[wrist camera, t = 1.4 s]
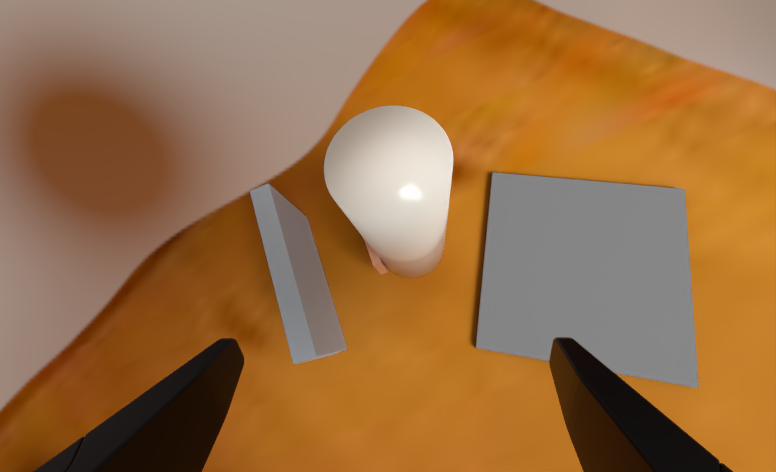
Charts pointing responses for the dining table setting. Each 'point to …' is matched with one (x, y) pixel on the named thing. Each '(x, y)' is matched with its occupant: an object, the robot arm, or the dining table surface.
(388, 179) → the white rounded cylinder
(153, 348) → the dining table surface
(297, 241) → the screen
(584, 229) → the slate mat
